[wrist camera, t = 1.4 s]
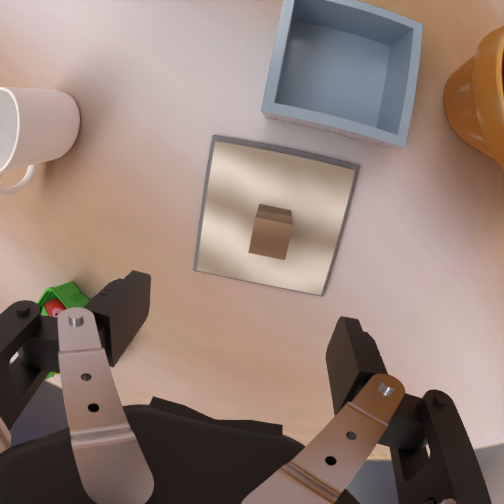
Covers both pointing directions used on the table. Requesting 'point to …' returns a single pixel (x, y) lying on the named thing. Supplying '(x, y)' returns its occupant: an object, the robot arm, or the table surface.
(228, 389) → the table surface
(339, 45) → the blue gray open box
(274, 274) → the lid
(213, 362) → the table surface
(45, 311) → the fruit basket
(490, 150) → the flower pot
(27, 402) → the robot arm
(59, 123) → the cup
